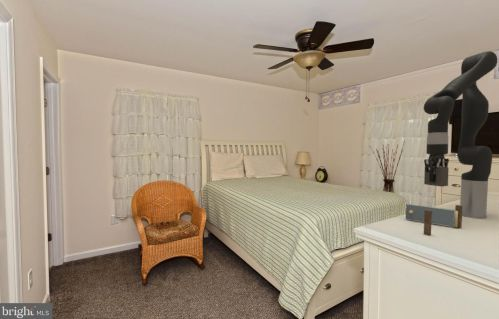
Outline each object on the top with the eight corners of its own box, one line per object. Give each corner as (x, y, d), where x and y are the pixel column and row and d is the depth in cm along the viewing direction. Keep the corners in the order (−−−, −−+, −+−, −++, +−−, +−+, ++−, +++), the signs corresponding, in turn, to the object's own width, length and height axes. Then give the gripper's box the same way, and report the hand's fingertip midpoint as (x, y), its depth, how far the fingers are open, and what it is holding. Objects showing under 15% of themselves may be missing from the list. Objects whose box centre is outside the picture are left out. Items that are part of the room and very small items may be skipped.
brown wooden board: (456, 226, 98) (457, 204, 98) (461, 227, 97) (462, 205, 96) (423, 234, 90) (424, 210, 89) (428, 235, 88) (429, 211, 88)
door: (457, 226, 97) (458, 210, 96) (457, 228, 95) (458, 212, 94) (406, 218, 108) (406, 203, 108) (405, 219, 106) (405, 204, 106)
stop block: (430, 183, 111) (430, 166, 110) (447, 185, 104) (448, 167, 104) (424, 184, 109) (424, 166, 108) (441, 186, 102) (442, 167, 102)
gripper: (436, 143, 99) (435, 184, 100) (456, 143, 105) (455, 182, 106) (417, 143, 106) (416, 182, 107) (437, 143, 112) (436, 180, 113)
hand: (436, 181), depth 106 cm, fingers closed on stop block, 4 cm apart
